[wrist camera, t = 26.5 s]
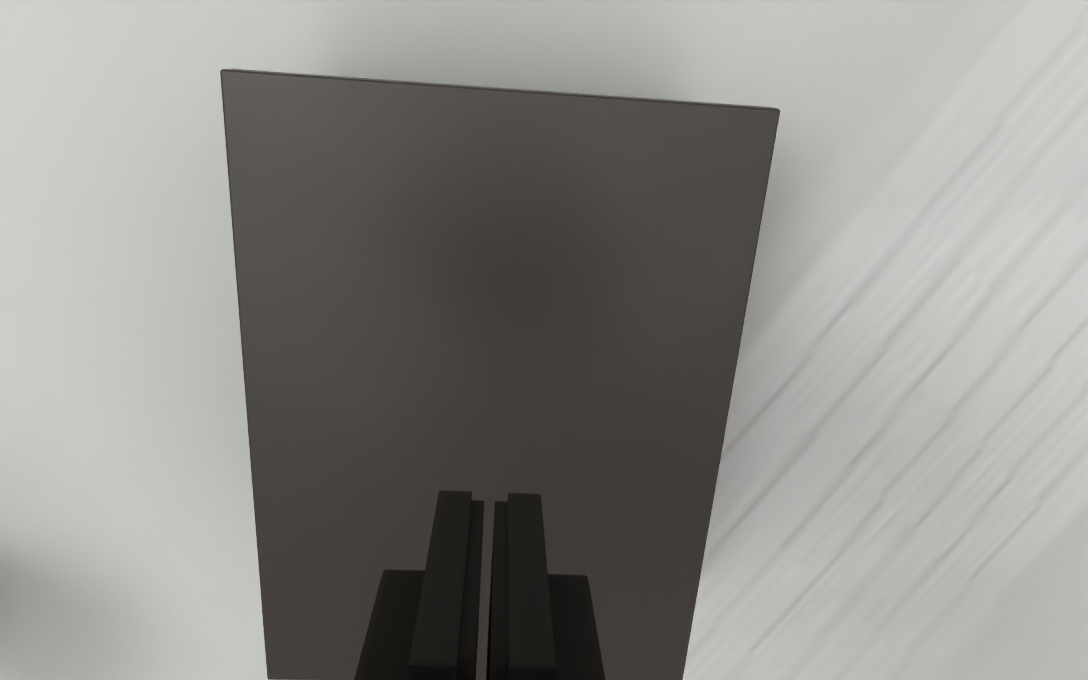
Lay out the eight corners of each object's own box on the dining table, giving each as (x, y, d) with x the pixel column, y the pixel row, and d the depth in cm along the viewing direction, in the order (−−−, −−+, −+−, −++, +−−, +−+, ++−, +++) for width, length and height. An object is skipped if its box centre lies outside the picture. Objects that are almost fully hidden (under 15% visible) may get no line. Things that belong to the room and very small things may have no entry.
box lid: (232, 68, 17) (219, 68, 16) (769, 107, 18) (780, 109, 17) (274, 659, 23) (267, 680, 22) (676, 667, 24) (681, 687, 23)
